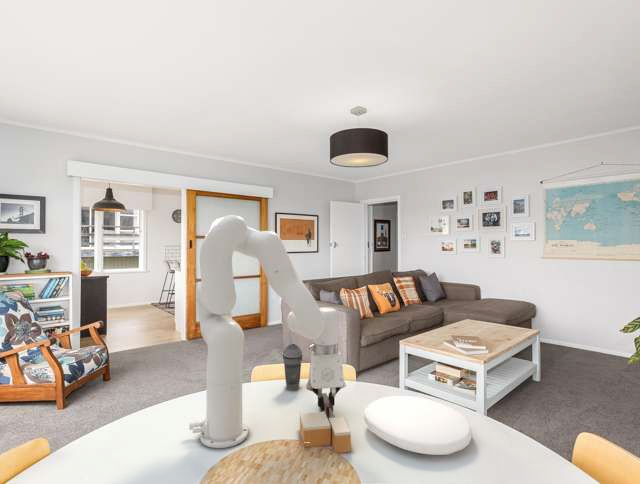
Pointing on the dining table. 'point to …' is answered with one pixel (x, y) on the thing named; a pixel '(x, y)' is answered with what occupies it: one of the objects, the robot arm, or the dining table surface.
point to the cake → (315, 429)
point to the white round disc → (418, 425)
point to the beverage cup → (292, 365)
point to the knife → (328, 406)
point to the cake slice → (340, 435)
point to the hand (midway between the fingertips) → (326, 408)
